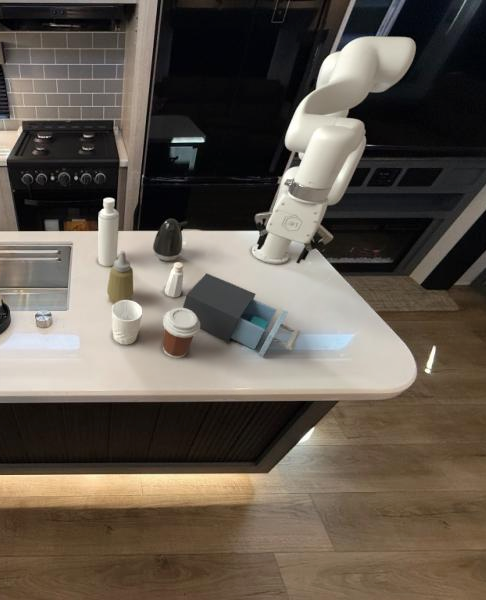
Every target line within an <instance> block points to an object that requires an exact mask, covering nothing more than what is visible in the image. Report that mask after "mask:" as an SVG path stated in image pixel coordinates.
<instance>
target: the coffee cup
mask: <svg viewBox="0 0 486 600" xmlns="http://www.w3.org/2000/svg"><path fill="white" fill-rule="evenodd" d="M162 325H163V327H164V332H163V342H162V350H163V352H164V353H165V354H166V355H167V356H169V357H171V358H173V359H174V358H175V359H180V358H183V357H184V356H186V354H187V353H188V350H189V349H190V346H191V343H192V341H193V339H194V337H195V336H196V335H197V334H198V333H199V331H200V330H201V329H200V322H199V320H198V318H197V316H196V314H195V313H193V312H192V311H191V310H189V309H186V308H183V307H175V308H172V309H171V310H169V311H167V312H166V313H165V314H164V315H163V319H162Z"/></svg>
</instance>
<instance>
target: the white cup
mask: <svg viewBox="0 0 486 600" xmlns="http://www.w3.org/2000/svg"><path fill="white" fill-rule="evenodd" d="M142 316H143V308H142V306H141V305H140V304H139V303H137V301H135V300H131V299H130V300H122V301H119V302H117V303H115V304H113V305H112V307H111V326H112V327H111V329H112V338H113V339H114V341H115V342H116V343H118V344H120V345H126V346H127V345H131V344H133V343H135V341H136V340H137V337H138V333H139V330H140V326H141V321H142Z"/></svg>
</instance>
